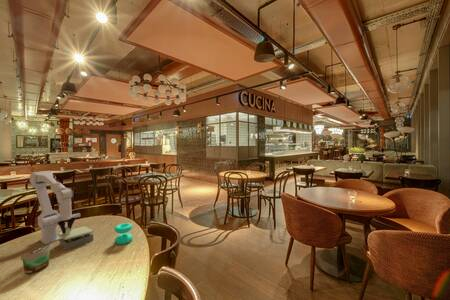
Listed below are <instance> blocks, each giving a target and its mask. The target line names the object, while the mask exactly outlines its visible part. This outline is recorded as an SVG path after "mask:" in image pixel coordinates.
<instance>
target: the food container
mask: <svg viewBox="0 0 450 300" xmlns="http://www.w3.org/2000/svg"><path fill="white" fill-rule="evenodd" d="M51 250H52V245H51V244H50V243H47V244H44V245H43V246H42V247H38V248H36V249H34V250H31V252H29V253H26V254H21V256H20V261H22V264H23V271H24V274H25V275H32V274H36V273H40V272H42V271H43V270H46V269H47V268H48V267H49V264H50V251H51Z"/></svg>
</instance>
